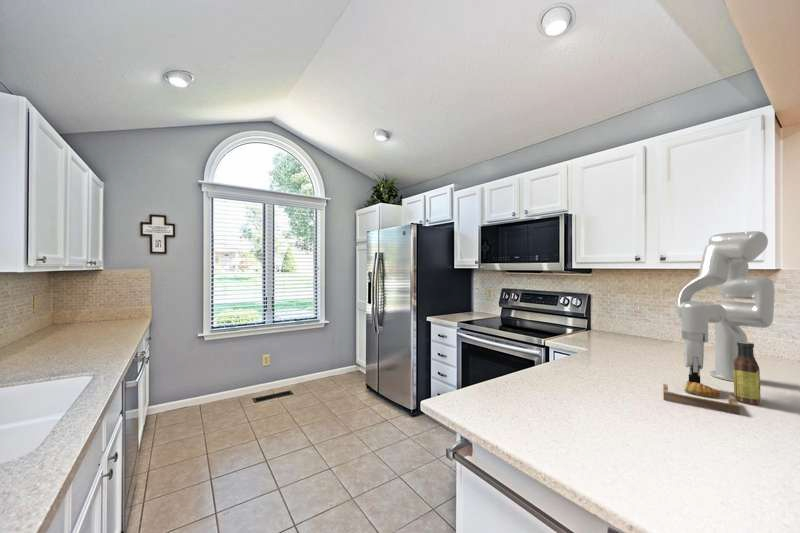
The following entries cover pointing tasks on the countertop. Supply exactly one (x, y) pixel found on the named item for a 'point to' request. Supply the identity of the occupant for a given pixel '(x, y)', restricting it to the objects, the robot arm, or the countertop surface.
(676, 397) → the open wooden frame
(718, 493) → the countertop surface
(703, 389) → the pastry
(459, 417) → the countertop surface
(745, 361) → the sauce bottle
